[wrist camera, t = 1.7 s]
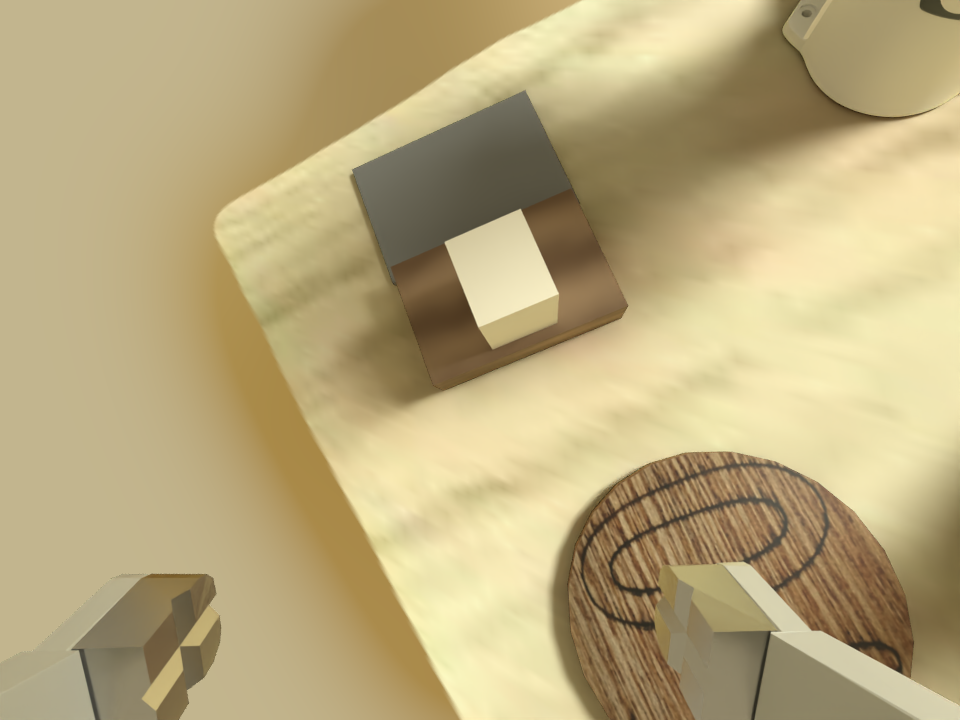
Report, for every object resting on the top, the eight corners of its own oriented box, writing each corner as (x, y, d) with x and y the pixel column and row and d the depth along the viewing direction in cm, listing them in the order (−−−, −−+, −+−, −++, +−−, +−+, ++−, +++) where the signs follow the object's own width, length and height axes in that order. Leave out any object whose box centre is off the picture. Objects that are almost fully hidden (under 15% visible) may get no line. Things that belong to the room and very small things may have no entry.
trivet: (967, 708, 34) (991, 724, 32) (655, 830, 35) (661, 851, 33) (781, 403, 39) (793, 401, 37) (519, 520, 41) (517, 524, 39)
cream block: (464, 279, 41) (444, 241, 33) (526, 253, 40) (520, 208, 33) (492, 349, 39) (478, 327, 32) (557, 323, 39) (558, 294, 31)
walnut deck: (403, 281, 46) (390, 266, 42) (569, 210, 45) (571, 188, 41) (443, 390, 44) (433, 385, 40) (621, 318, 42) (628, 305, 38)
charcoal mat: (354, 172, 49) (351, 169, 49) (525, 94, 48) (525, 90, 47) (394, 285, 46) (392, 283, 46) (579, 205, 45) (579, 202, 44)
